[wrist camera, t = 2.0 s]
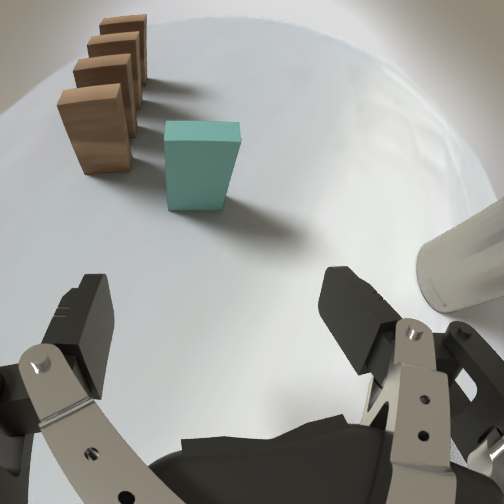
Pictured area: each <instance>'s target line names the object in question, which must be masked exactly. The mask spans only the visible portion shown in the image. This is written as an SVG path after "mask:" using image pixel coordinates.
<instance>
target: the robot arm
mask: <svg viewBox="0 0 504 504" xmlns="http://www.w3.org/2000/svg"><path fill="white" fill-rule="evenodd" d="M417 277H418V282H419V286H420V288H421V291H422V293H423V295H424V297H425V299H426V300H427V302H428V303H429V305H431V306H432V307H433V308H434V309H435V310H437V311H438V312H442V313H449V312H453V311H457V310H460V309H464V308H467V307H471V306H475V305H478V304H481V303H484V302H488V301H491V300H494V299H497V298H500V297H503V296H504V197H503V198H501V199H500V200H498V201H497V202H495V203H493V204H492V205H490V206H489V207H487V208H485V209H484V210H482V211H481V212H479V213H477V214H476V215H474V216H472V217H471V218H469V219H467V220H466V221H464V222H462V223H461V224H459V225H457V226H456V227H454V228H452V229H450V230H449V231H447V232H445V233H443V234H442V235H440V236H438V237H436V238H435V239H433V240H431V241H429V242H428V243H426V244H425V245H424V246H423V247H422V248H421V250H420V252H419V254H418V258H417ZM318 309H319V314H320V316H321V318H322V319H323V321H324V323H325V324H326V326H327V327H328V329H329V330H330V332H331V333H332V335H333V336H334V338H335V340H336V341H337V343H338V344H339V346H340V347H341V349H342V351H343V352H344V354H345V355H346V357H347V358H348V360H349V362H350V363H351V365H352V366H353V368H354V369H355V371H356V373H357V374H358V375H362V374H366V373H370V372H371V373H372V375H373V376H372V378H371V380H370V382H369V387H368V392H367V397H366V402H365V407H364V411H363V416H362V420H361V423H360V424H348V423H347V422H346V420H345V418H344V416H343V414H341V415H337V416H333V417H329V418H325V419H321V420H317V421H313V422H309V423H306V424H304V425H302V426H300V427H298V428H295V429H293V430H291V431H289V432H287V433H284V434H282V435H280V436H278V437H275V438H273V439H267V440H265V439H248V438H236V437H226V436H222V437H211V438H197V439H181V444H182V450H180V451H177V452H173V453H171V454H168V455H166V456H164V457H162V458H160V459H158V460H156V461H155V462H153V463H152V464H150V465H149V466H147V465H146V464H145V463H144V462H143V461H142V460H141V459H140V458H139V456H138V455H137V454H136V453H135V452H134V451H133V450H132V448H131V447H130V446H129V445H128V444H127V443H126V441H125V440H124V439H123V438H122V436H121V435H120V434H119V433H118V432H117V430H116V429H115V428H114V426H113V425H112V424H111V423H110V421H109V420H108V419H107V417H106V416H105V415H104V413H103V412H102V411H101V409H100V408H99V406H98V405H97V404H96V402H95V401H94V400H93V399H98V400H101V398H102V391H103V384H104V378H105V372H106V366H107V360H108V355H109V350H110V345H111V340H112V335H113V330H114V310H113V305H112V301H111V295H110V290H109V285H108V279H107V276H106V274H85V275H84V277H83V279H82V281H81V283H80V285H79V287H78V288H72V289H71V290H70V291H68V292H67V293H66V294H65V295H64V296H63V297H62V299H61V301H60V303H59V305H58V308H57V309H56V311H55V313H54V316H53V318H52V320H51V322H50V324H49V327H48V329H47V331H46V333H45V336H44V338H43V340H42V343H41V344H38V345H35V346H32V347H31V348H29V349H28V350H26V351H25V352H24V353H23V355H22V356H21V358H20V360H19V363H18V364H13V365H7V366H2V367H0V504H28V485H29V471H30V461H31V452H32V444H33V437H34V433H39V432H42V434H43V436H44V438H45V440H46V442H47V444H48V446H49V448H50V450H51V451H52V453H53V455H54V457H55V459H56V460H57V462H58V464H59V465H60V467H61V469H62V470H63V472H64V474H65V475H66V477H67V479H68V480H69V482H70V483H71V485H72V486H73V488H74V489H75V491H76V492H77V494H78V495H79V497H80V498H81V499H82V501H83V502H84V504H504V361H503V360H502V359H501V357H500V356H499V355H498V354H497V353H496V352H495V351H494V350H493V349H492V347H491V346H490V345H489V344H488V343H487V342H486V341H485V340H484V339H483V338H482V337H481V336H480V335H479V334H478V332H477V331H476V330H475V329H474V328H472V327H471V326H470V325H468V324H466V323H464V322H460V321H453V322H451V323H450V324H449V326H448V328H447V330H446V332H445V333H432V331H431V330H430V328H429V327H428V326H427V325H425V324H424V323H422V322H420V321H418V320H415V319H411V318H405V319H402V318H401V316H400V315H399V314H398V313H397V312H396V311H395V310H394V309H393V308H392V307H391V306H390V305H389V304H388V303H387V302H386V300H383V297H382V296H381V295H380V294H379V293H377V291H376V290H375V289H374V288H373V287H372V286H371V285H370V284H369V283H367V282H365V281H364V280H362V279H360V278H359V277H358V276H357V275H356V274H355V273H354V272H353V271H352V270H351V269H350V268H349V267H347V266H338V267H328V268H327V269H326V272H325V275H324V280H323V284H322V289H321V293H320V297H319V302H318ZM463 368H464V369H465V371H466V372H467V373H468V374H469V376H470V377H471V378H472V380H473V381H474V382H475V384H476V386H477V394H476V397H475V398H474V399H473V401H472V402H470V400H469V399H468V397H467V396H466V395H465V393H464V392H463V391H462V389H461V388H460V386H459V385H458V384H457V382H456V381H455V379H456V378H457V376H458V375H459V373H460V372H461V370H462V369H463ZM450 436H451V438H452V440H453V441H454V443H455V445H456V446H457V448H458V450H459V451H460V453H461V455H462V456H463V458H464V460H465V462H466V463H467V465H468V467H467V468H466V467H463V466H460V465H458V464H455V463H453V462H451V461H450Z"/></svg>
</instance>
